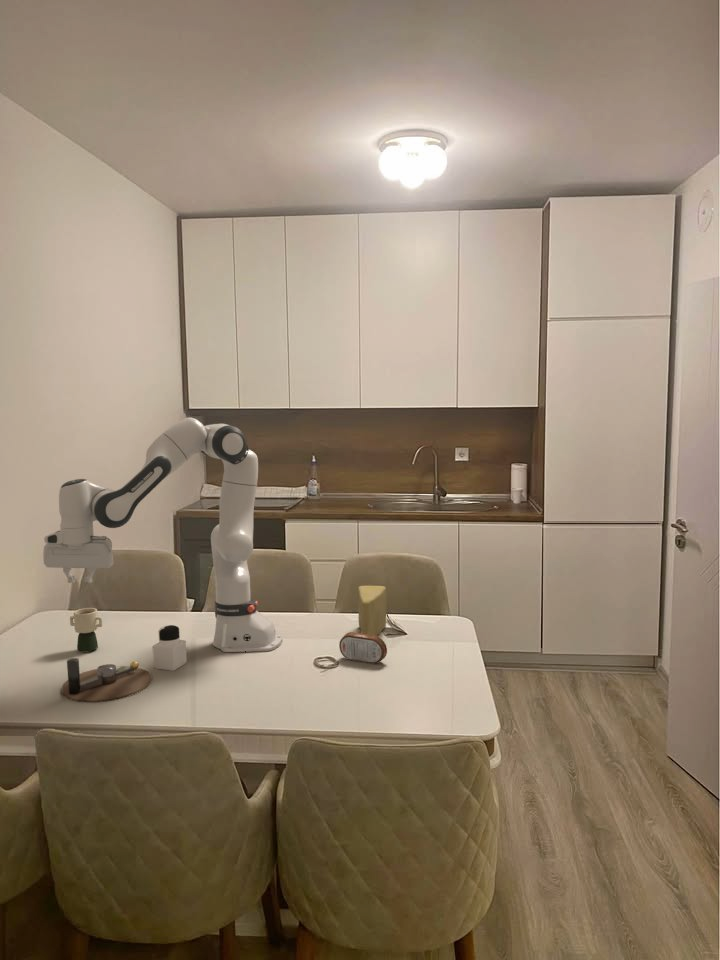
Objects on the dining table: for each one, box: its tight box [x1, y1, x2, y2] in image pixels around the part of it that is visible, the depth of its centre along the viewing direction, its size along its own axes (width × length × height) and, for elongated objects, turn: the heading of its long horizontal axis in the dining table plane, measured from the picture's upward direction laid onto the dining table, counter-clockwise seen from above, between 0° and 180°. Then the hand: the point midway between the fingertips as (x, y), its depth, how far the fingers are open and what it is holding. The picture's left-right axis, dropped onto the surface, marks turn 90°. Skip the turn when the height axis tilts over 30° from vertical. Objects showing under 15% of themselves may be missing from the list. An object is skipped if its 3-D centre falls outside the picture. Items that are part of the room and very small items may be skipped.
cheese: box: [357, 585, 387, 636], centre depth 248 cm, size 22×10×15 cm, turn 173°
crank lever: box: [66, 657, 140, 694], centre depth 210 cm, size 5×22×9 cm, turn 147°
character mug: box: [69, 607, 103, 653], centre depth 239 cm, size 11×7×13 cm, turn 81°
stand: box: [61, 665, 153, 703], centre depth 211 cm, size 24×24×1 cm
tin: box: [339, 631, 388, 665], centre depth 226 cm, size 15×3×8 cm, turn 65°
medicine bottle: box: [152, 624, 187, 672], centre depth 224 cm, size 7×7×12 cm
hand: (80, 582), depth 217 cm, fingers open, 4 cm apart
